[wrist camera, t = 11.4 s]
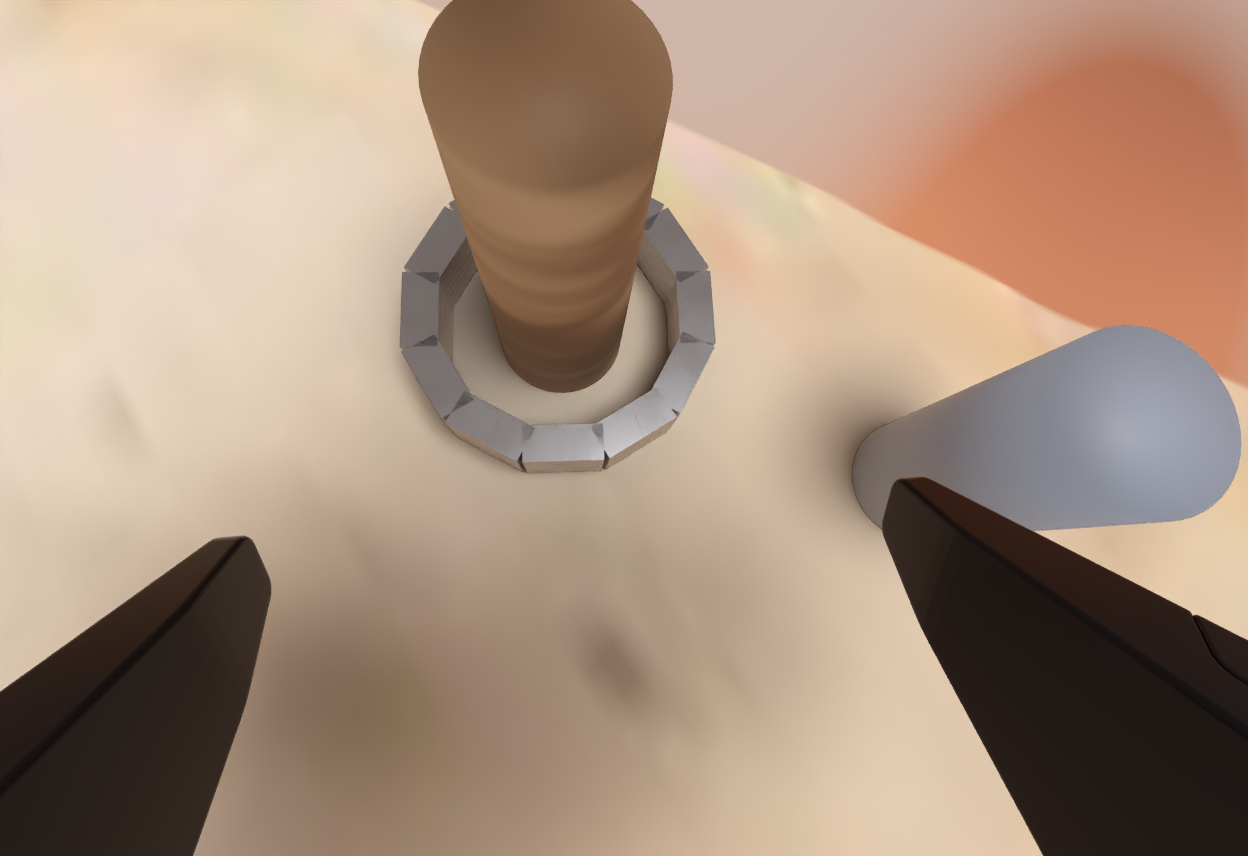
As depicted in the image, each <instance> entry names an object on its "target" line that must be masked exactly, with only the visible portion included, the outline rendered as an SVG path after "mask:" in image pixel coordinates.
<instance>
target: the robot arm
mask: <svg viewBox="0 0 1248 856" xmlns="http://www.w3.org/2000/svg"><path fill="white" fill-rule="evenodd" d="M882 531H883V536H884V539H885V541H886V544H887V546H888V549H889V551H890V554H891V556H892V558H893V561H894V563H895V566H896V568H897V571H898V573H899V576H900V578H901V581H902V583H903V586H904V588H905V591H906V593H907V595H908V598H909V600H910V603H911V605H912V608H913V610H914V613H915V615H916V617H917V619H918V622H919V624H920V626H921V628H922V630H923V632H924V634H925V636H926V638H927V640H928V642H929V644H930V646H931V648H932V650H933V651H934V653H935V655H936V657H937V659H938V661H939V663H940V664H941V666H942V668H943V670H944V672H945V674H946V676H947V678H948V679H949V681H950V683H951V685H952V687H953V689H954V691H955V692H956V694H957V696H958V698H959V700H960V702H961V704H962V705H963V707H964V709H965V711H966V713H967V715H968V717H969V718H970V720H971V722H972V724H973V726H974V728H975V730H976V732H977V733H978V735H979V737H980V739H981V741H982V743H983V745H984V746H985V748H986V750H987V752H988V754H989V756H990V758H991V759H992V761H993V763H994V765H995V767H996V769H997V771H998V772H999V774H1000V776H1001V778H1002V780H1003V782H1004V784H1005V785H1006V787H1007V789H1008V791H1009V793H1010V795H1011V797H1012V799H1013V800H1014V802H1015V804H1016V806H1017V808H1018V810H1019V812H1020V813H1021V815H1022V817H1023V819H1024V821H1025V823H1026V825H1027V826H1028V828H1029V830H1030V832H1031V834H1032V836H1033V838H1034V839H1035V841H1036V843H1037V845H1038V847H1039V849H1040V851H1041V853H1042V854H1043V856H1248V640H1246V639H1244V638H1242V637H1240V636H1238V635H1236V634H1234V633H1232V632H1230V631H1228V630H1226V629H1224V628H1222V627H1220V626H1218V625H1216V624H1214V623H1213V622H1211V621H1209V620H1207V619H1205V618H1203V617H1201V616H1199V615H1194V616H1192V614H1191V612H1190V611H1189V610H1187V609H1185V608H1183V607H1181V606H1179V605H1177V604H1175V603H1173V602H1171V601H1169V600H1167V599H1165V598H1163V597H1161V596H1159V595H1157V594H1155V593H1153V592H1151V591H1149V590H1147V589H1146V588H1144V587H1142V586H1140V585H1138V584H1136V583H1134V582H1132V581H1130V580H1128V579H1126V578H1124V577H1122V576H1120V575H1118V574H1116V573H1114V572H1112V571H1110V570H1108V569H1106V568H1104V567H1102V566H1100V565H1098V564H1096V563H1094V562H1092V561H1090V560H1089V559H1087V558H1085V557H1083V556H1081V555H1079V554H1077V553H1075V552H1073V551H1071V550H1069V549H1067V548H1065V547H1063V546H1061V545H1059V544H1057V543H1055V542H1053V541H1051V540H1049V539H1047V538H1045V537H1043V536H1041V535H1039V534H1037V533H1035V532H1033V531H1032V530H1030V529H1028V528H1026V527H1024V526H1022V525H1020V524H1018V523H1016V522H1014V521H1012V520H1010V519H1008V518H1006V517H1004V516H1002V515H1000V514H998V513H996V512H994V511H992V510H990V509H988V508H986V507H984V506H982V505H980V504H978V503H976V502H975V501H973V500H971V499H969V498H967V497H965V496H963V495H961V494H959V493H957V492H955V491H953V490H951V489H949V488H947V487H945V486H943V485H941V484H939V483H937V482H935V481H933V480H931V479H929V478H927V477H924V476H916V477H904V478H899V479H897V480H895V481H894V483H893V484H892V487H891V490H890V494H889V498H888V501H887V505H886V509H885V512H884V516H883V520H882ZM270 598H271V582H270V578H269V575H268V573H267V571H266V569H265V566H264V564H263V562H262V560H261V557H260V555H259V553H258V551H257V548H256V546H255V544H254V542H253V541H252V540H251V539H250V538H249V537H246V536H233V537H222V538H216V539H213V540H211V541H210V542H208V543H207V544H205V545H204V546H203V547H201V548H200V549H198V550H197V551H196V552H194V553H193V554H191V555H190V556H189V557H187V558H186V559H184V560H183V561H182V562H180V563H179V564H177V565H176V566H175V567H173V568H172V569H170V570H169V571H168V572H166V573H165V574H164V575H162V576H161V577H159V578H158V579H157V580H155V581H154V582H152V583H151V584H150V585H148V586H147V587H145V588H144V589H143V590H141V591H140V592H138V593H137V594H136V595H134V596H133V597H131V598H130V599H129V600H127V601H126V602H124V603H123V604H122V605H120V606H119V607H118V608H116V609H115V610H113V611H112V612H111V613H109V614H108V615H106V616H105V617H104V618H102V619H101V620H99V621H98V622H97V623H95V624H94V625H92V626H91V627H90V628H88V629H87V630H85V631H84V632H83V633H81V634H80V635H78V636H77V637H76V638H74V639H73V640H71V641H70V642H69V643H67V644H66V645H64V646H63V647H62V648H60V649H59V650H57V651H56V652H55V653H53V654H52V655H51V656H49V657H48V658H46V659H45V660H44V661H42V662H41V663H39V664H38V665H37V666H35V667H34V668H32V669H31V670H30V671H28V672H27V673H25V674H24V675H23V676H21V677H20V678H18V679H17V680H16V681H14V682H13V683H11V684H10V685H9V686H7V687H6V688H4V689H3V690H2V691H0V856H193V854H194V852H195V849H196V846H197V843H198V840H199V837H200V834H201V832H202V829H203V826H204V823H205V820H206V817H207V814H208V812H209V809H210V806H211V803H212V800H213V797H214V794H215V792H216V789H217V786H218V783H219V780H220V777H221V774H222V772H223V769H224V766H225V763H226V760H227V757H228V754H229V752H230V749H231V746H232V743H233V740H234V737H235V734H236V732H237V729H238V726H239V723H240V720H241V717H242V714H243V711H244V708H245V705H246V701H247V697H248V694H249V690H250V686H251V682H252V677H253V673H254V668H255V664H256V660H257V655H258V651H259V646H260V642H261V638H262V633H263V629H264V624H265V620H266V616H267V611H268V607H269V602H270Z"/></svg>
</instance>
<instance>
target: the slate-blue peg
mask: <svg viewBox="0 0 1248 856" xmlns="http://www.w3.org/2000/svg"><path fill="white" fill-rule="evenodd" d="M1240 454H1241V431H1240V425H1239V420H1238V416H1237V413H1236V409H1235V406H1234V404H1233V401H1232V399H1231V397H1230V395H1229V392H1228V391H1227V389H1226V387H1225V385H1224V384H1223V382H1222V380H1221V379H1220V378H1219V376H1218V375H1217V374H1216V372H1215V371H1214V370H1213V368H1212V367H1211V366H1210V365H1209V364H1208V363H1207V362H1206V361H1205V360H1204V359H1203V358H1202V357H1201V356H1200V355H1199V354H1198V353H1197V352H1196V351H1194V350H1193V349H1191V348H1190V347H1189V346H1187V345H1186V344H1185V343H1183V342H1181V341H1179V340H1178V339H1176V338H1174V337H1172V336H1170V335H1168V334H1166V333H1163V332H1160V331H1158V330H1154V329H1151V328H1147V327H1141V326H1132V325H1121V326H1112V327H1107V328H1103V329H1100V330H1098V331H1095V332H1092V333H1090V334H1088V335H1086V336H1083V337H1081V338H1079V339H1077V340H1074V341H1072V342H1070V343H1068V344H1065V345H1063V346H1061V347H1059V348H1056V349H1054V350H1052V351H1050V352H1048V353H1045V354H1043V355H1041V356H1039V357H1036V358H1034V359H1032V360H1030V361H1027V362H1025V363H1023V364H1021V365H1018V366H1016V367H1014V368H1012V369H1009V370H1007V371H1005V372H1003V373H1001V374H998V375H996V376H994V377H992V378H989V379H987V380H985V381H983V382H980V383H978V384H976V385H974V386H971V387H969V388H967V389H965V390H962V391H960V392H958V393H956V394H954V395H951V396H949V397H947V398H945V399H942V400H940V401H938V402H936V403H933V404H931V405H929V406H927V407H924V408H922V409H920V410H918V411H915V412H913V413H911V414H909V415H907V416H904V417H902V418H900V419H898V420H895V421H893V422H891V423H889V424H886V425H884V426H882V427H880V428H878V429H876V430H875V431H873V432H872V433H871V434H870V435H869V436H868V437H867V438H866V439H865V440H864V441H863V442H862V444H861V445H860V447H859V449H858V451H857V453H856V456H855V459H854V463H853V471H852V478H853V486H854V491H855V494H856V497H857V499H858V501H859V504H860V506H861V507H862V509H863V510H864V512H865V513H866V515H867V516H868V517H869V518H870V519H871V520H872V521H873V522H874V523H875V524H876V525H877V526H879V527H880V528H881V529H882V520H883V516H884V512H885V509H886V505H887V501H888V498H889V494H890V490H891V487H892V484H893V483H894V481H895V480H897V479H899V478H904V477H916V476H924V477H927V478H929V479H931V480H933V481H935V482H937V483H939V484H941V485H943V486H945V487H947V488H949V489H951V490H953V491H955V492H957V493H959V494H961V495H963V496H965V497H967V498H969V499H971V500H973V501H975V502H976V503H978V504H980V505H982V506H984V507H986V508H988V509H990V510H992V511H994V512H996V513H998V514H1000V515H1002V516H1004V517H1006V518H1008V519H1010V520H1012V521H1014V522H1016V523H1018V524H1020V525H1022V526H1024V527H1026V528H1028V529H1030V530H1032V531H1045V530H1059V529H1073V528H1087V527H1101V526H1115V525H1129V524H1143V523H1156V522H1170V521H1178V520H1183V519H1187V518H1191V517H1193V516H1196V515H1198V514H1200V513H1202V512H1204V511H1206V510H1207V509H1209V508H1210V507H1212V506H1213V505H1214V504H1215V503H1216V502H1217V501H1218V500H1219V499H1221V497H1222V496H1223V495H1224V494H1225V492H1226V491H1227V490H1228V488H1229V487H1230V485H1231V483H1232V481H1233V479H1234V477H1235V474H1236V471H1237V469H1238V465H1239V460H1240Z"/></svg>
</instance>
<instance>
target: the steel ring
mask: <svg viewBox="0 0 1248 856" xmlns="http://www.w3.org/2000/svg"><path fill="white" fill-rule="evenodd" d="M449 206H450V209H451V210H450V209H449V208H447V207H444V208H443V210H442V211H441V213H440V214H439V216H438V217H437V219H436V220H435V222H434V223H433V225H432V226H431V228H430V229H429V231H428V232H427V234H426V235H425V237H424V238H423V240H422V241H421V243H420V244H419V246H418V247H417V249H416V250H415V252H414V253H413V255H412V256H411V258H410V259H409V261H408V262H407V264H406V265H405V267H404V269H405V270H406V272H402V295H401V326H400V348H401V349H402V350H403V351H402V354H403V356H404V358H405V359H406V361H407V363H408V364H409V366H410V368H411V369H412V371H413V373H414V374H415V376H416V378H417V379H418V381H419V383H420V384H421V386H422V388H423V389H424V391H425V393H426V395H427V396H428V398H429V400H430V401H431V403H432V405H433V406H434V408H435V410H436V411H437V413H438V415H439V416H440V418H441V419H442V420H443V422H444V423H445V424H446V425H447V426H448V427H449V428H450V429H451V430H452V431H453V433H454V434H456V435H457V436H458V438H460V439H462V440H464V441H466V442H468V443H469V444H471V445H473V446H475V447H477V448H479V449H481V450H483V451H484V452H486V453H488V454H490V455H492V456H494V457H496V458H498V459H499V460H501V461H503V462H505V463H507V464H509V465H511V466H513V467H514V468H516V469H518V470H520V471H522V472H523V471H524V469H525V468H526V470H527V472H528V473H551V472H584V471H601V469H602V466H604V467H605V469H608V468H609V467H611V466H612V465H614V464H616V463H617V462H619V461H621V460H622V459H624V458H625V457H627V456H629V455H630V454H632V453H634V452H635V451H637V450H638V449H640V448H642V447H643V446H645V445H646V444H648V443H650V442H651V441H653V440H655V439H656V438H658V437H659V436H661V435H663V434H664V433H666V432H667V430H668V429H670V427H671V426H672V424H673V423H674V422H675V420H676V419H677V417H678V416H679V415H680V413H681V411H682V409H683V407H684V405H685V403H686V402H687V400H688V398H689V396H690V394H691V392H692V390H693V388H694V386H695V384H696V382H697V380H698V378H699V376H700V374H701V373H702V371H703V369H704V367H705V365H706V363H707V361H708V359H709V357H710V355H711V353H712V351H713V349H714V347H713V346H714V344H715V343H716V342H715V329H714V316H713V303H712V289H711V276H710V271H707V269H708V265H707V264H706V262H705V261H704V259H703V258H702V256H701V255H700V254H699V252H698V251H697V249H696V248H695V246H694V245H693V243H692V242H691V241H690V239H689V238H688V236H687V235H686V233H685V232H684V230H683V229H682V228H681V226H680V225H679V223H678V222H677V220H676V219H675V217H674V216H673V215H672V213H671V212H670V210H669V209H668V208H666V209H664V210H663V206H664V204H662V203H660V202H658V201H657V200H655V199H653V198H651V199H650V203H649V208H648V213H647V218H646V223H645V227H644V232H643V237H642V242H641V246H640V251H639V256H638V261H637V264H638V265H639V267H640V268H641V270H642V271H643V273H644V274H645V276H646V277H647V279H648V280H649V282H650V283H651V285H652V286H653V288H654V289H655V291H656V292H657V294H658V295H659V297H660V298H661V300H662V301H663V303H664V304H665V306H666V316H667V333H668V350H669V358H668V360H667V362H666V364H665V366H664V367H663V369H662V371H661V373H660V375H659V377H658V379H657V380H656V382H655V384H654V386H653V388H652V390H651V391H649V392H648V393H646V394H644V395H643V396H641V397H639V398H638V399H636V400H634V401H633V402H631V403H629V404H628V405H626V406H624V407H623V408H621V409H619V410H618V411H616V412H614V413H613V414H611V415H609V416H608V417H606V418H604V419H603V420H601V421H599V422H598V423H592V424H550V425H528V424H526V423H525V422H523V421H521V420H519V419H517V418H515V417H513V416H511V415H509V414H508V413H506V412H504V411H502V410H500V409H498V408H496V407H494V406H493V405H491V404H489V403H487V402H485V401H483V400H481V399H479V398H477V397H476V396H474V395H472V394H470V392H469V390H468V389H467V387H466V385H465V384H464V382H463V380H462V379H461V377H460V375H459V374H458V372H457V371H456V369H455V367H454V366H453V364H452V329H453V307H454V305H455V304H456V302H457V301H458V299H459V298H460V296H461V294H462V293H463V291H464V290H465V288H466V287H467V285H468V283H469V282H470V280H471V279H472V277H473V276H474V274H475V273H476V271H477V267H476V264H475V261H474V257H473V254H472V251H471V248H470V245H469V242H468V239H467V236H466V233H465V230H464V227H463V224H462V221H461V218H460V215H459V212H458V209H457V205H456V202H455V200H454V201H452V202H450V203H449Z"/></svg>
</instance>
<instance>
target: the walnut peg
mask: <svg viewBox="0 0 1248 856" xmlns="http://www.w3.org/2000/svg"><path fill="white" fill-rule="evenodd" d="M418 75H419V88H420V93H421V97H422V101H423V105H424V108H425V111H426V114H427V117H428V120H429V123H430V126H431V129H432V132H433V135H434V138H435V141H436V144H437V147H438V150H439V153H440V157H441V160H442V163H443V166H444V169H445V172H446V175H447V178H448V181H449V184H450V187H451V190H452V193H453V196H454V199H455V202H456V205H457V209H458V212H459V215H460V218H461V221H462V224H463V227H464V230H465V233H466V236H467V239H468V242H469V245H470V248H471V251H472V254H473V257H474V261H475V264H476V267H477V270H478V273H479V276H480V279H481V282H482V285H483V288H484V291H485V294H486V297H487V300H488V303H489V306H490V309H491V313H492V316H493V319H494V322H495V325H496V328H497V331H498V334H499V337H500V340H501V343H502V346H503V349H504V352H505V355H506V358H507V360H508V362H509V363H510V365H511V367H512V368H513V369H514V371H515V372H516V373H517V374H518V375H519V376H520V377H521V378H522V379H524V380H525V381H526V382H528V383H529V384H531V385H533V386H535V387H537V388H539V389H543V390H546V391H551V392H562V393H564V392H573V391H577V390H581V389H584V388H586V387H588V386H590V385H592V384H594V383H595V382H597V381H598V380H600V379H601V378H602V377H603V376H604V375H605V374H606V373H607V372H608V370H609V369H610V368H611V366H612V365H613V363H614V361H615V359H616V357H617V354H618V351H619V347H620V342H621V337H622V332H623V327H624V323H625V318H626V313H627V308H628V304H629V299H630V294H631V289H632V285H633V280H634V275H635V270H636V265H637V261H638V256H639V251H640V246H641V242H642V237H643V232H644V227H645V223H646V218H647V213H648V208H649V203H650V199H651V194H652V189H653V184H654V180H655V175H656V170H657V165H658V161H659V156H660V151H661V146H662V141H663V137H664V132H665V127H666V122H667V118H668V113H669V108H670V103H671V97H672V90H673V87H672V86H673V82H672V81H673V78H672V77H673V76H672V69H671V62H670V59H669V55H668V52H667V49H666V46H665V44H664V42H663V40H662V38H661V35H660V34H659V32H658V31H657V29H656V28H655V26H654V25H653V23H652V22H651V20H650V19H649V18H648V17H647V16H646V14H645V13H644V12H643V11H642V10H641V9H640V8H639V7H638V6H637V5H636V4H634V3H633V2H632V1H631V0H453V1H452V2H450V3H449V4H448V5H447V6H446V7H445V8H444V10H443V11H442V12H441V13H440V14H439V16H438V17H437V18H436V20H435V21H434V23H433V24H432V26H431V28H430V29H429V31H428V34H427V36H426V38H425V41H424V43H423V46H422V50H421V54H420V59H419V70H418Z"/></svg>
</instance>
